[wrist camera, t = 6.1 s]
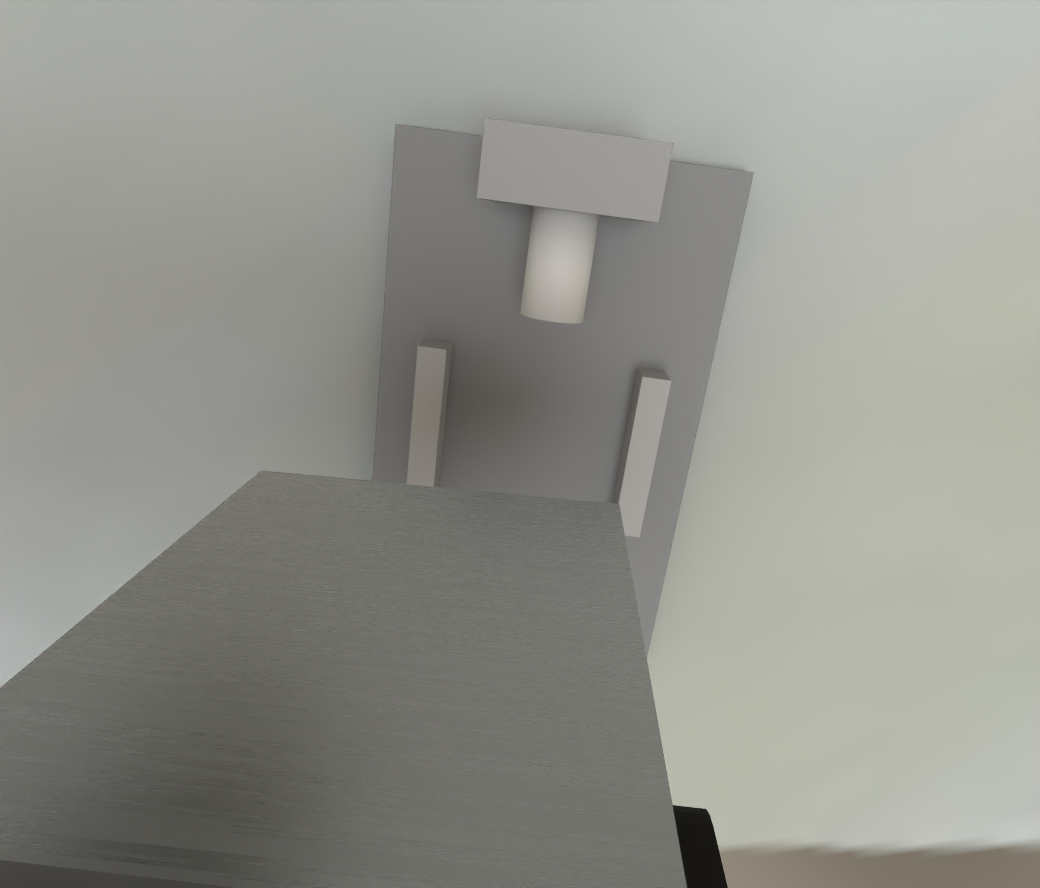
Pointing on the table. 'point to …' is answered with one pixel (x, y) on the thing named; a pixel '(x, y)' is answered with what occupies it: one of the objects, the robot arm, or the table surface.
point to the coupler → (349, 705)
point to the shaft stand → (554, 320)
